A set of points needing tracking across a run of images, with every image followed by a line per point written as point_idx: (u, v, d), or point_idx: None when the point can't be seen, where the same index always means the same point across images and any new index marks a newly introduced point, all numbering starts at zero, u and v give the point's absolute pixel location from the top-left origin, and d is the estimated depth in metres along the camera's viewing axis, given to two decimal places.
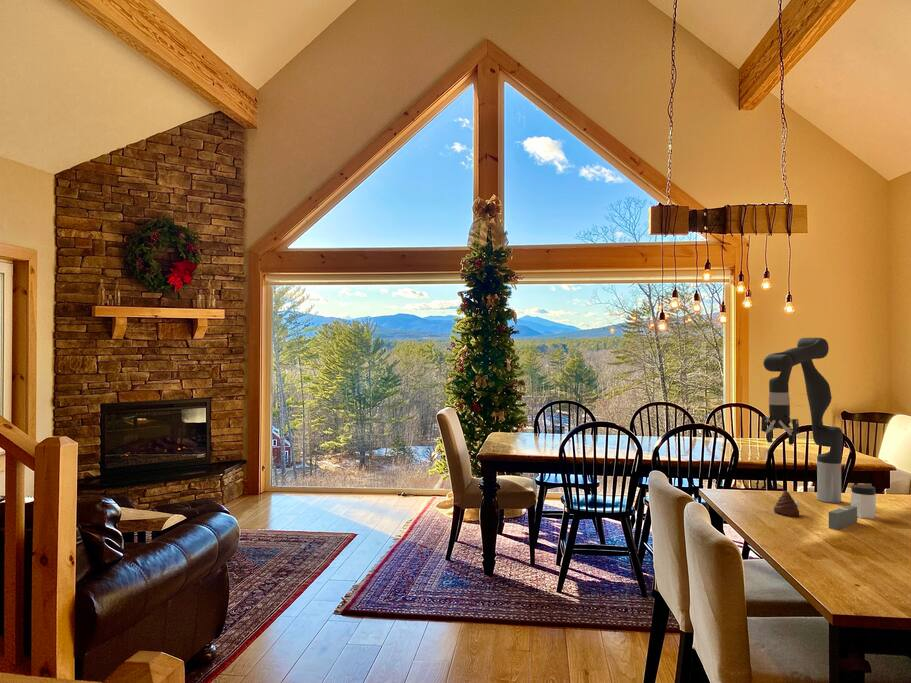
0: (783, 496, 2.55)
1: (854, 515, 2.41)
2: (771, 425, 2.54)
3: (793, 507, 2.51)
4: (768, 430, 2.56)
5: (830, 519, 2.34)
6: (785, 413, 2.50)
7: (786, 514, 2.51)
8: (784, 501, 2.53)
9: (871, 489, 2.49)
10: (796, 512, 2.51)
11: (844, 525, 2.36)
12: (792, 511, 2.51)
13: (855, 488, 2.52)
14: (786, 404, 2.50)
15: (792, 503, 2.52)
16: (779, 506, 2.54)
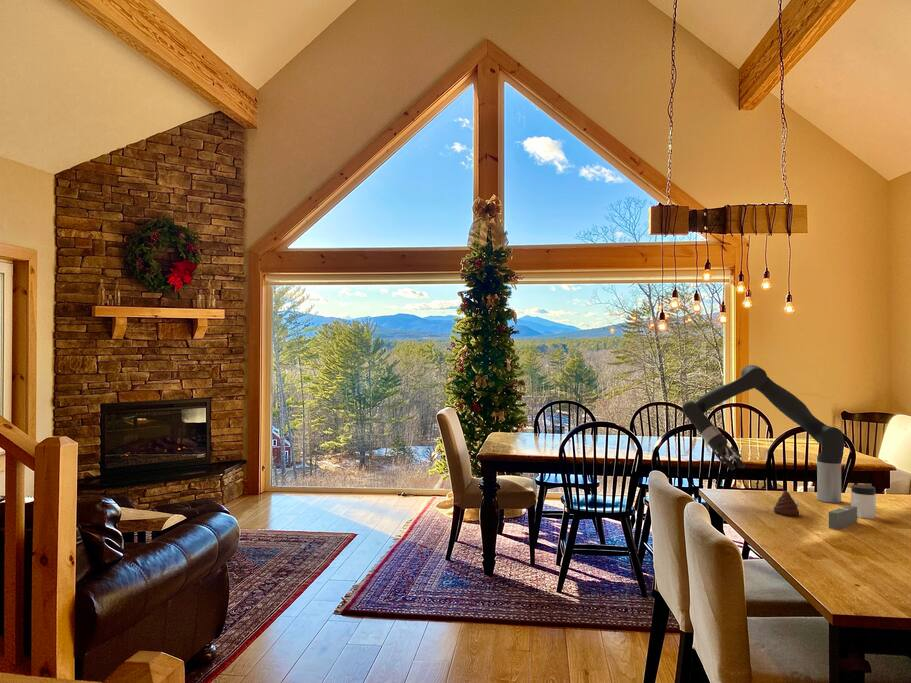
0: (783, 496, 2.55)
1: (854, 515, 2.41)
2: None
3: (793, 507, 2.51)
4: None
5: (830, 519, 2.34)
6: (713, 447, 2.77)
7: (786, 514, 2.51)
8: (784, 501, 2.53)
9: (871, 489, 2.49)
10: (796, 512, 2.51)
11: (844, 525, 2.36)
12: (792, 511, 2.51)
13: (855, 488, 2.52)
14: (709, 440, 2.79)
15: (792, 503, 2.52)
16: (779, 506, 2.54)
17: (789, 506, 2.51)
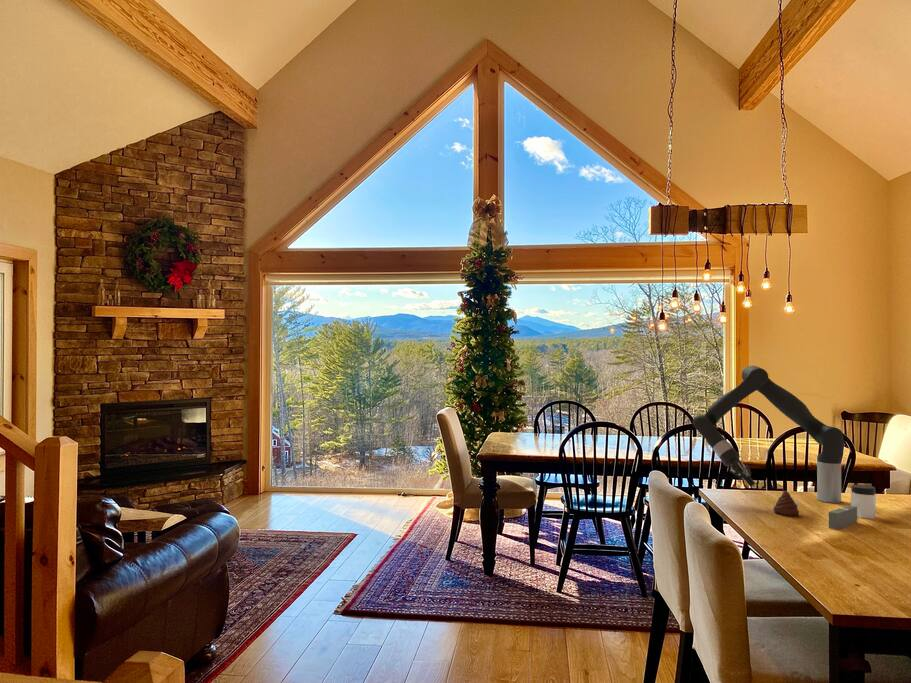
0: (783, 496, 2.55)
1: (854, 515, 2.41)
2: None
3: (793, 507, 2.51)
4: None
5: (830, 519, 2.34)
6: (725, 462, 2.73)
7: (786, 514, 2.51)
8: (784, 501, 2.53)
9: (871, 489, 2.49)
10: (796, 512, 2.51)
11: (844, 525, 2.36)
12: (792, 511, 2.51)
13: (855, 488, 2.52)
14: (720, 455, 2.75)
15: (792, 503, 2.52)
16: (779, 506, 2.54)
17: (789, 506, 2.51)
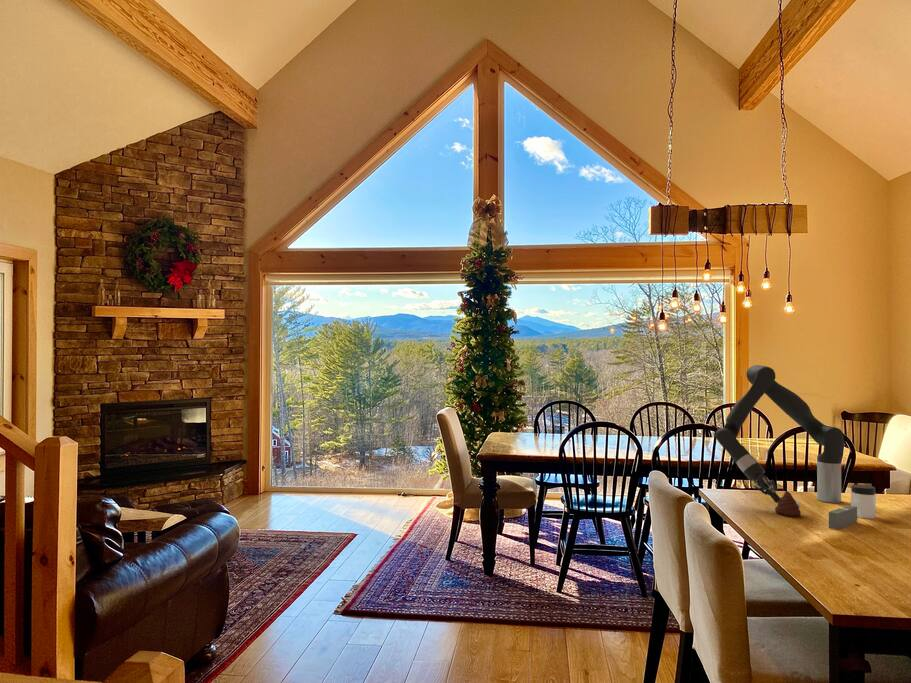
0: (784, 496, 2.54)
1: (854, 515, 2.41)
2: None
3: (794, 507, 2.50)
4: None
5: (830, 519, 2.34)
6: (749, 477, 2.64)
7: (787, 514, 2.50)
8: (785, 501, 2.52)
9: (871, 489, 2.49)
10: (797, 512, 2.50)
11: (844, 525, 2.36)
12: (793, 511, 2.50)
13: (855, 488, 2.52)
14: (745, 470, 2.66)
15: (793, 503, 2.51)
16: (780, 506, 2.53)
17: (791, 506, 2.51)
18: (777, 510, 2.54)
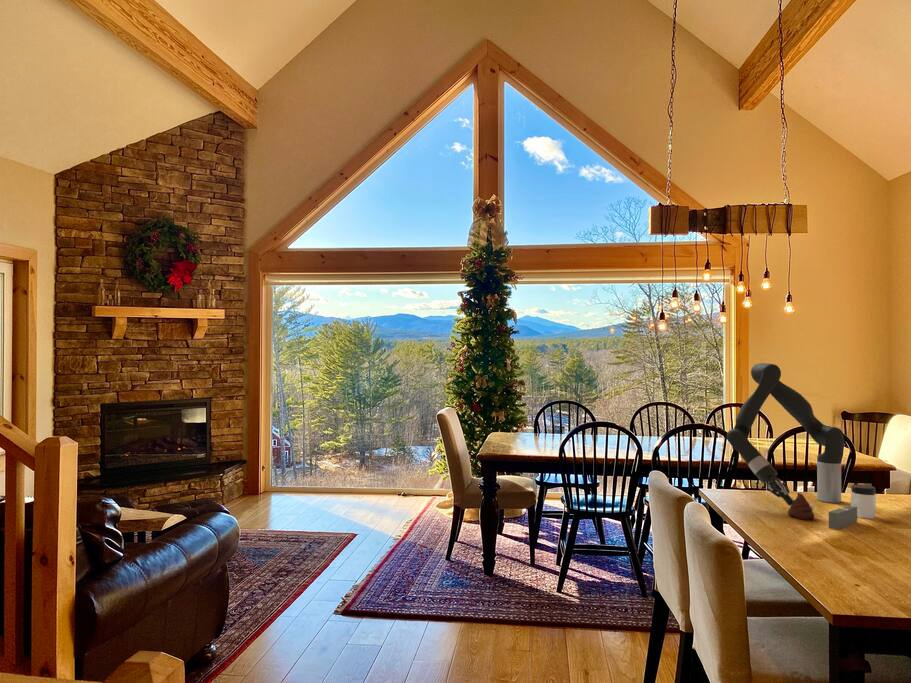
0: (797, 499, 2.50)
1: (854, 515, 2.41)
2: None
3: (808, 510, 2.46)
4: None
5: (830, 519, 2.34)
6: (761, 479, 2.60)
7: (801, 517, 2.46)
8: (798, 504, 2.48)
9: (871, 489, 2.49)
10: (811, 515, 2.45)
11: (844, 525, 2.36)
12: (807, 514, 2.45)
13: (855, 488, 2.52)
14: (757, 472, 2.62)
15: (807, 506, 2.47)
16: (793, 509, 2.49)
17: (804, 509, 2.46)
18: (790, 513, 2.50)
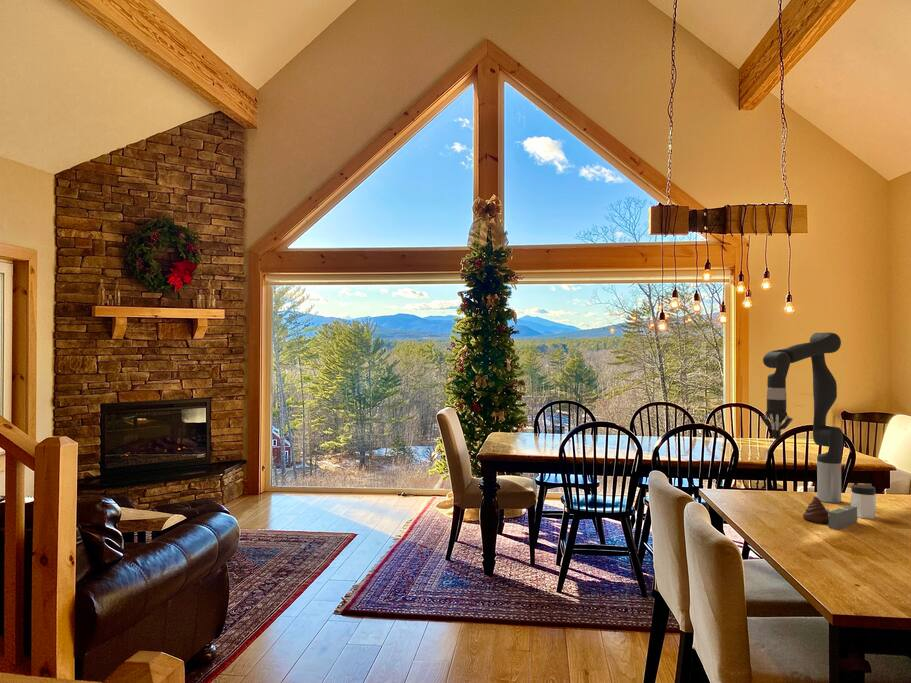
0: (813, 502, 2.44)
1: (854, 515, 2.41)
2: None
3: (824, 514, 2.41)
4: (774, 427, 2.67)
5: (830, 519, 2.34)
6: (782, 407, 2.64)
7: (816, 521, 2.41)
8: (814, 508, 2.43)
9: (871, 489, 2.49)
10: (827, 519, 2.40)
11: (844, 525, 2.36)
12: (823, 518, 2.40)
13: (855, 488, 2.52)
14: (783, 399, 2.64)
15: (823, 510, 2.42)
16: (809, 513, 2.44)
17: (820, 513, 2.41)
18: (805, 517, 2.45)
